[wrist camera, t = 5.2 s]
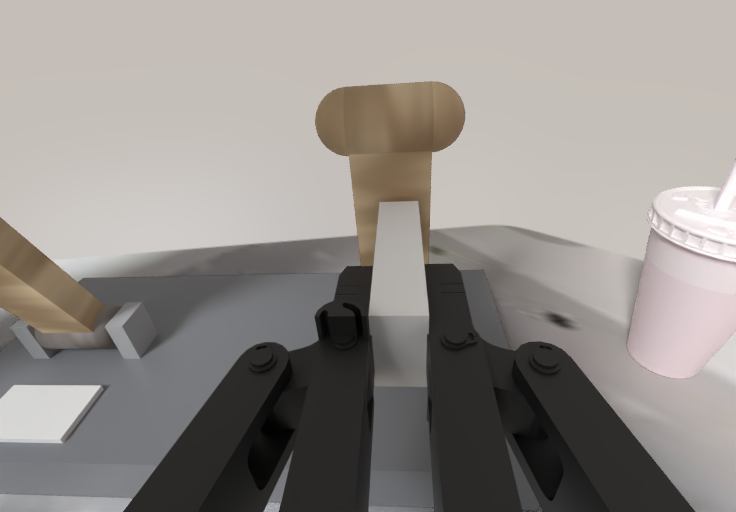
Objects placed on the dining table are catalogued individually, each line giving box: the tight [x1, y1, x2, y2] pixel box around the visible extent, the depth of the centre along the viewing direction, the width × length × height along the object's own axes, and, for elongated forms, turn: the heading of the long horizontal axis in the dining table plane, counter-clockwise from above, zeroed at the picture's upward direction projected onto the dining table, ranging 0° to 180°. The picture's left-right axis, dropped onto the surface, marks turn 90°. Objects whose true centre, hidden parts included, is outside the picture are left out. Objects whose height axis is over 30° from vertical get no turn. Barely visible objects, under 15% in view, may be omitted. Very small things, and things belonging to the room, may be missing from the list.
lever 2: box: [315, 82, 465, 266], centre depth 17 cm, size 5×2×13 cm, turn 87°
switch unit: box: [0, 270, 540, 511], centre depth 23 cm, size 30×14×6 cm, turn 87°
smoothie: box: [627, 160, 736, 379], centre depth 20 cm, size 6×6×14 cm
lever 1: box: [0, 218, 122, 349], centre depth 18 cm, size 5×2×13 cm, turn 87°
